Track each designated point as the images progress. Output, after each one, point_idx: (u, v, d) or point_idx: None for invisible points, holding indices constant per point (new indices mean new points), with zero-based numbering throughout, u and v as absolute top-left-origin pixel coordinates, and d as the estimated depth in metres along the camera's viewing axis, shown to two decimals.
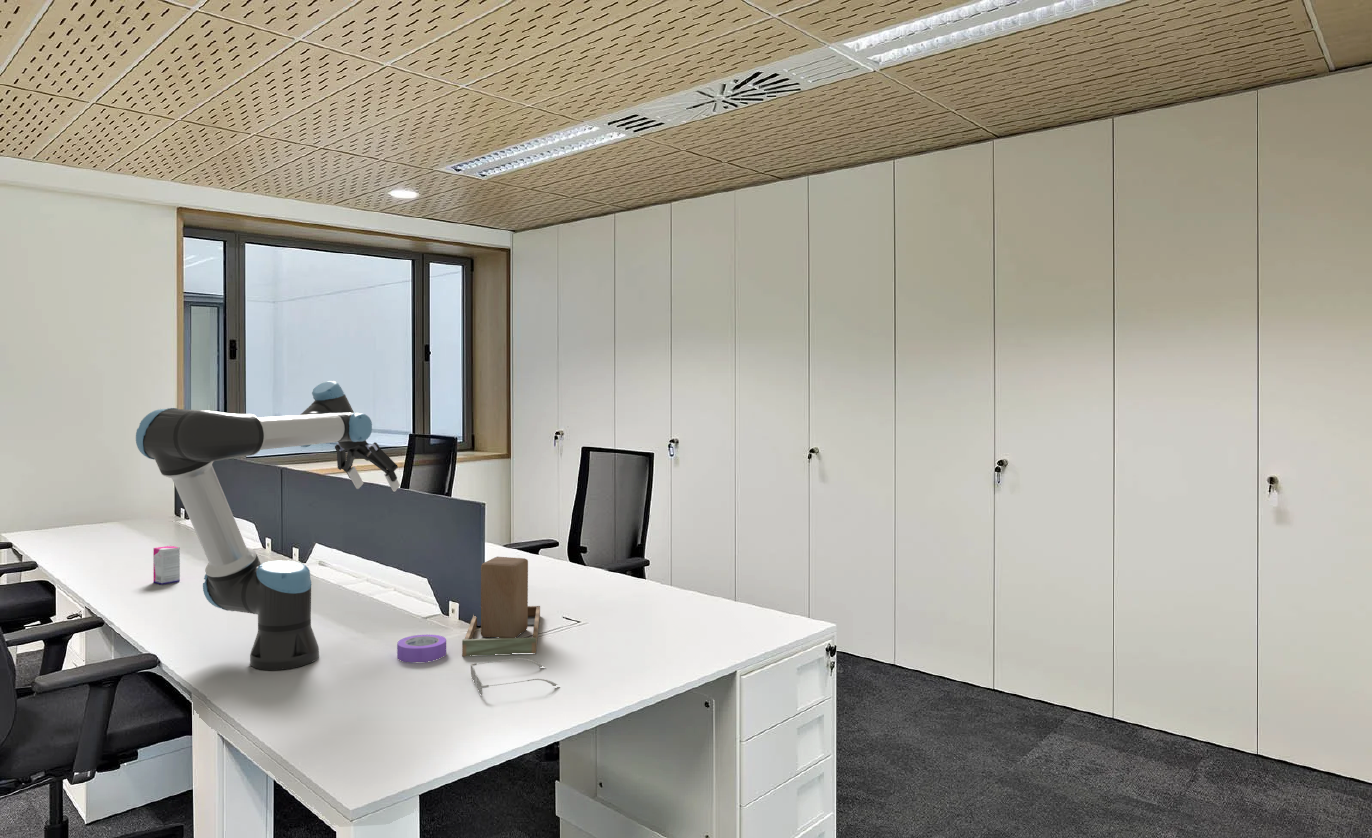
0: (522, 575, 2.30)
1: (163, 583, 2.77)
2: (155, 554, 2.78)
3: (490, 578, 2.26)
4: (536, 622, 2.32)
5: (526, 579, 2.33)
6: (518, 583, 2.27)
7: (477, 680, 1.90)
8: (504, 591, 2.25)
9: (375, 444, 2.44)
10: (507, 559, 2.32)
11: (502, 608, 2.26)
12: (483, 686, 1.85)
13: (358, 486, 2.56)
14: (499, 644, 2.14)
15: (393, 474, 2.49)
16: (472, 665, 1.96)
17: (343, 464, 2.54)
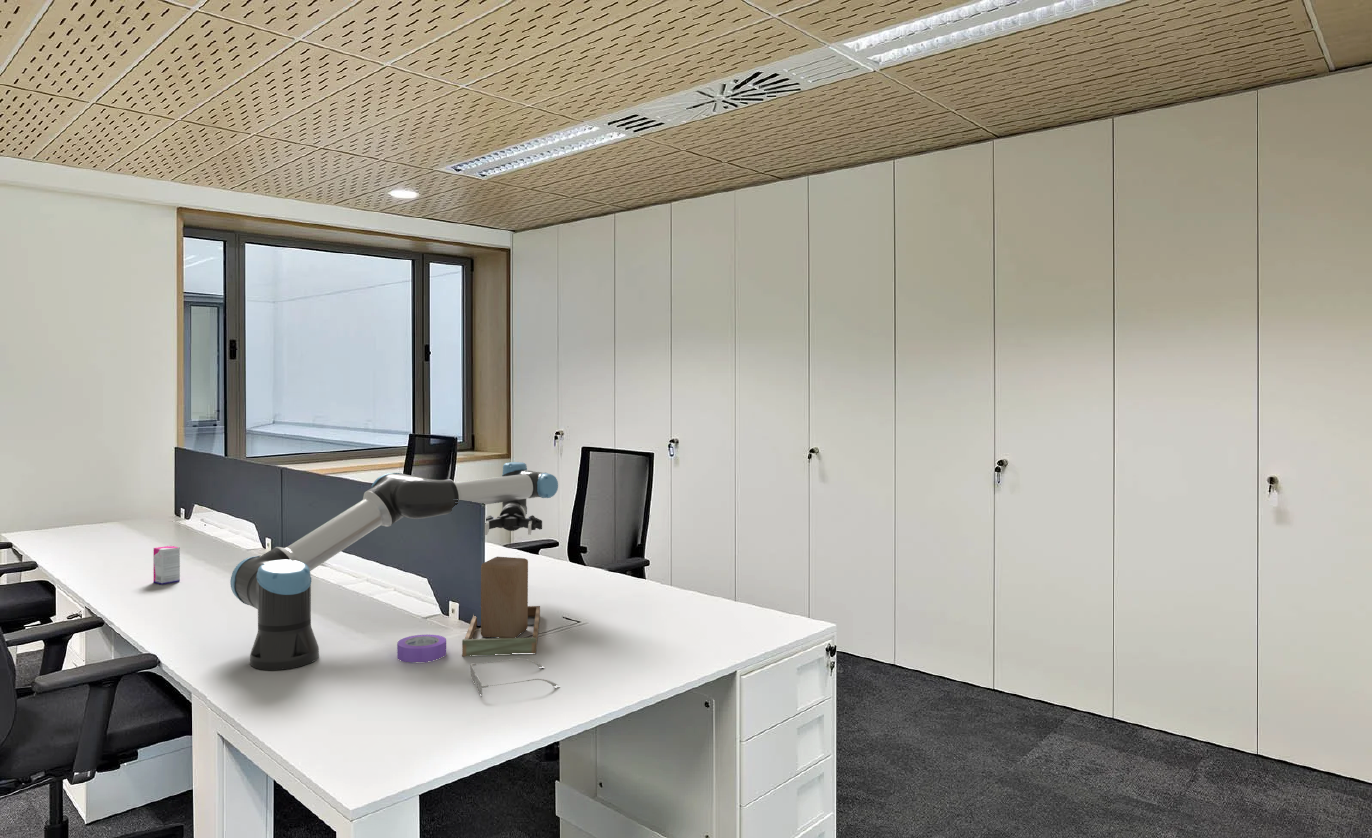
0: (522, 575, 2.30)
1: (163, 583, 2.77)
2: (155, 554, 2.78)
3: (490, 578, 2.26)
4: (536, 622, 2.32)
5: (526, 579, 2.33)
6: (518, 583, 2.27)
7: (477, 680, 1.90)
8: (504, 591, 2.25)
9: None
10: (507, 559, 2.32)
11: (502, 608, 2.26)
12: (483, 686, 1.85)
13: (487, 526, 2.41)
14: (499, 644, 2.14)
15: None
16: (472, 665, 1.96)
17: None
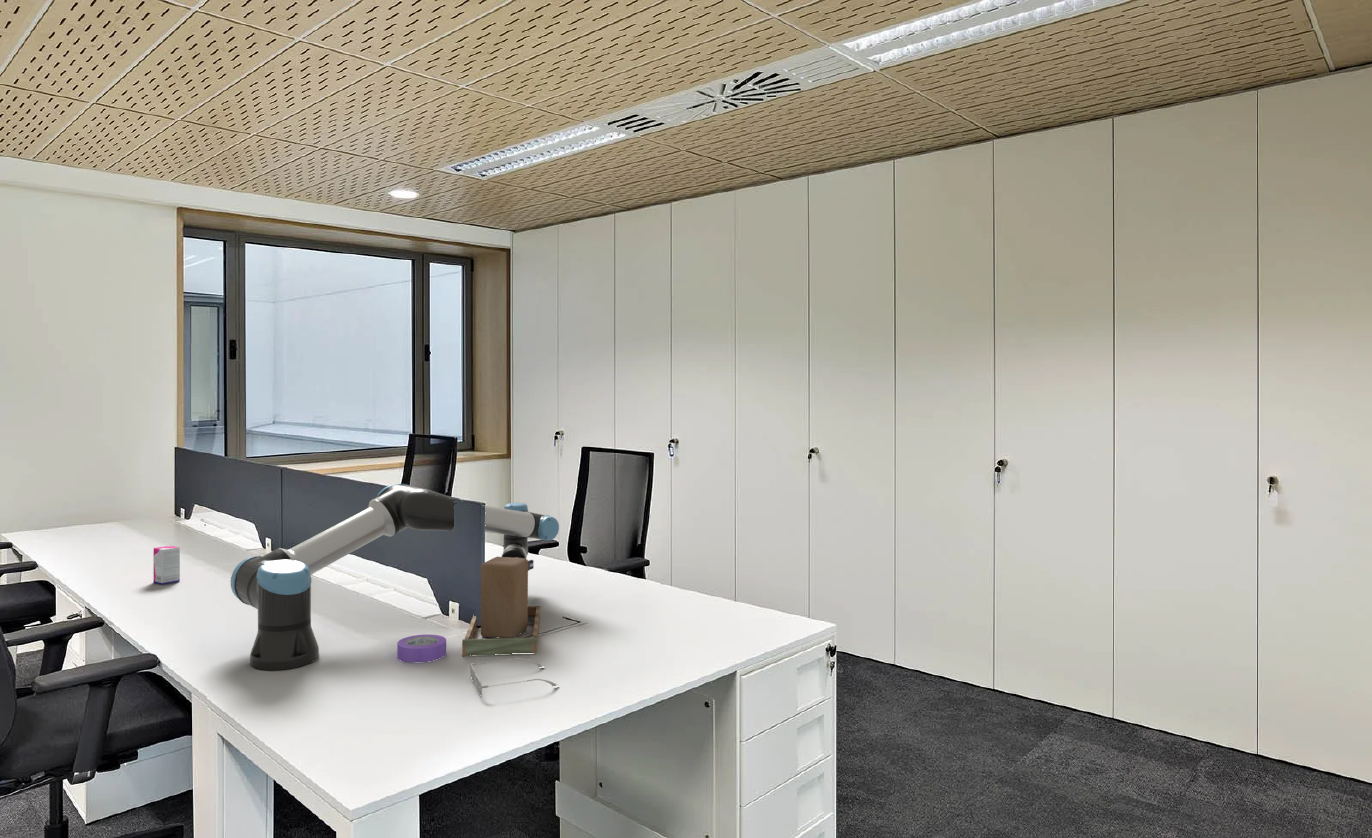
0: (522, 575, 2.30)
1: (163, 583, 2.77)
2: (155, 554, 2.78)
3: (490, 578, 2.26)
4: (536, 622, 2.32)
5: (526, 579, 2.33)
6: (518, 583, 2.27)
7: (477, 680, 1.90)
8: (504, 591, 2.25)
9: (533, 566, 2.57)
10: (507, 559, 2.32)
11: (502, 608, 2.26)
12: (483, 686, 1.85)
13: None
14: (499, 644, 2.14)
15: None
16: (472, 665, 1.96)
17: None
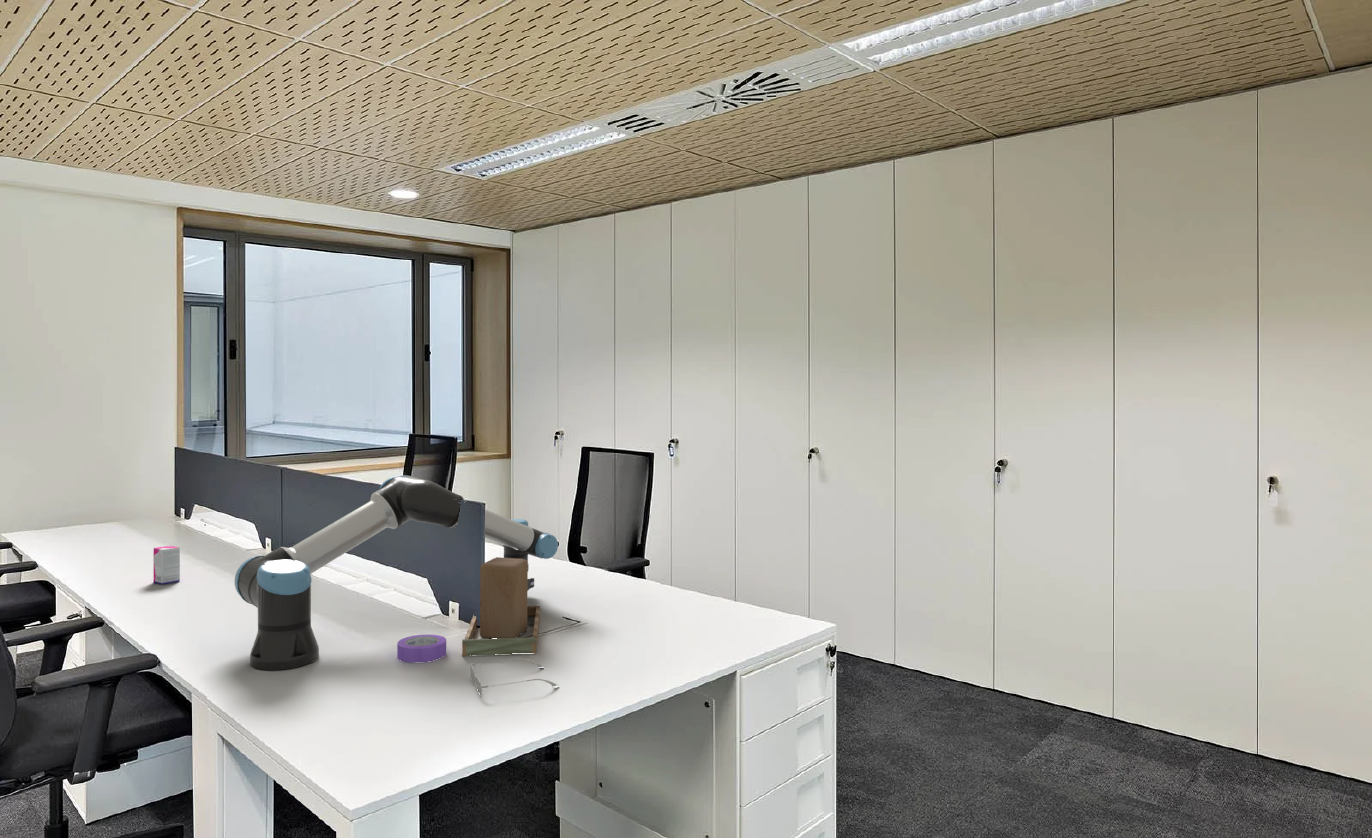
0: (522, 576, 2.29)
1: (163, 583, 2.77)
2: (155, 554, 2.78)
3: (489, 579, 2.25)
4: (536, 622, 2.32)
5: (526, 580, 2.32)
6: (517, 584, 2.26)
7: None
8: (503, 592, 2.24)
9: None
10: (507, 560, 2.31)
11: (502, 609, 2.25)
12: (483, 686, 1.85)
13: None
14: (499, 644, 2.14)
15: None
16: (471, 665, 1.96)
17: None
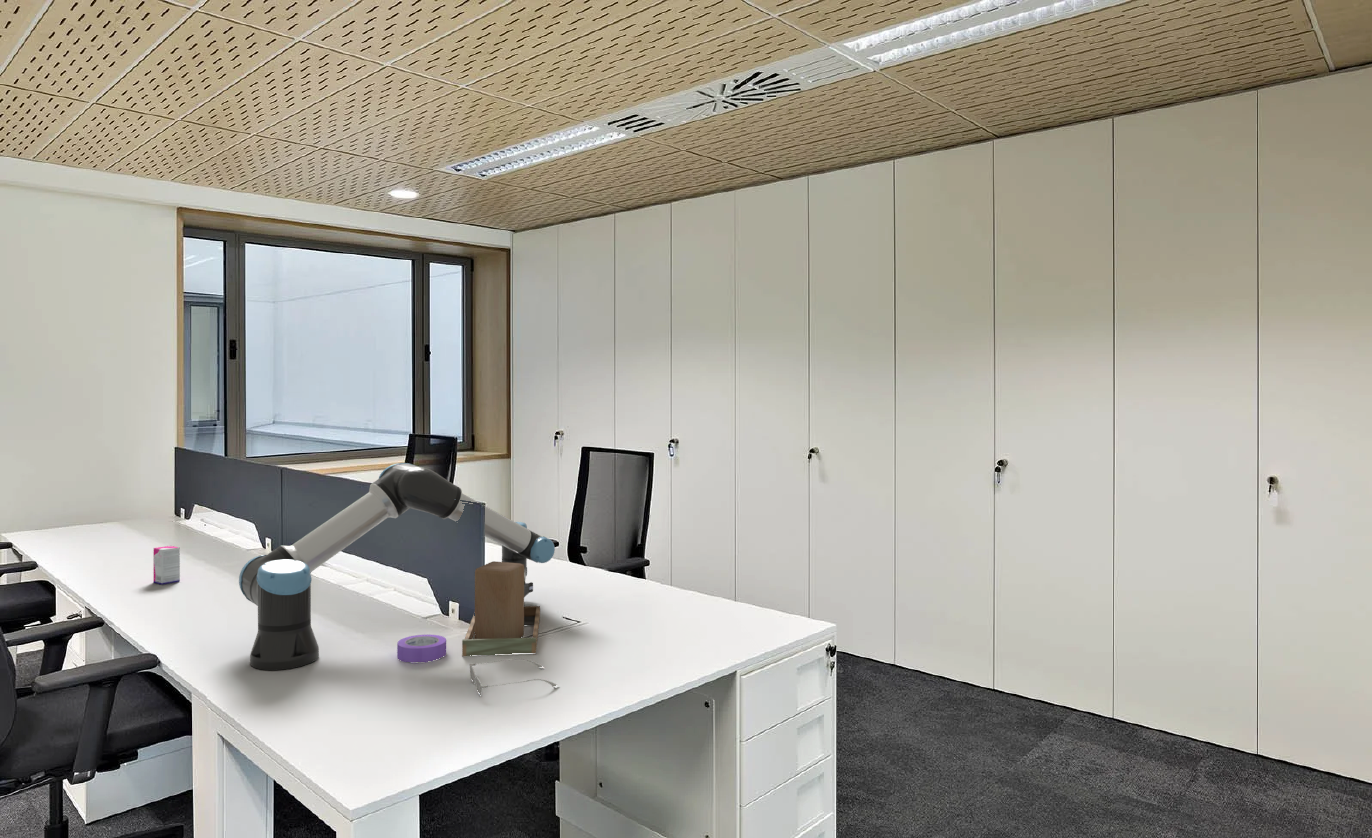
0: (518, 581, 2.24)
1: (163, 583, 2.77)
2: (155, 554, 2.78)
3: (484, 583, 2.20)
4: (536, 622, 2.32)
5: (522, 585, 2.26)
6: (513, 589, 2.21)
7: (476, 680, 1.90)
8: (498, 597, 2.19)
9: (532, 589, 2.47)
10: (502, 564, 2.26)
11: (496, 615, 2.20)
12: (483, 686, 1.85)
13: None
14: (499, 644, 2.14)
15: None
16: (471, 665, 1.96)
17: None
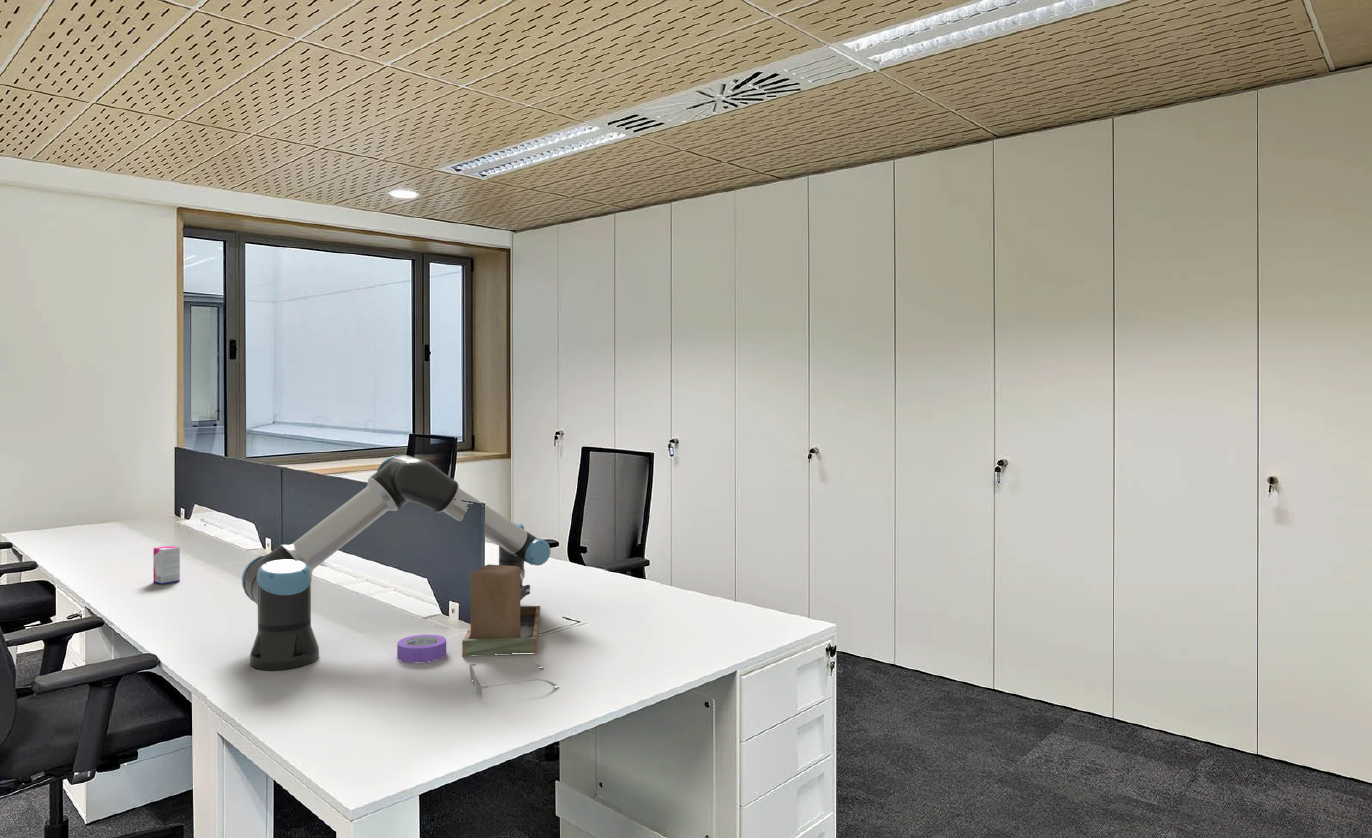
0: (514, 584, 2.20)
1: (163, 583, 2.77)
2: (155, 554, 2.78)
3: (480, 587, 2.16)
4: (536, 622, 2.32)
5: (518, 588, 2.23)
6: (510, 593, 2.17)
7: (476, 680, 1.90)
8: (495, 601, 2.16)
9: (529, 591, 2.43)
10: (498, 567, 2.22)
11: (493, 619, 2.16)
12: (483, 686, 1.85)
13: None
14: (499, 644, 2.14)
15: None
16: (471, 665, 1.96)
17: None
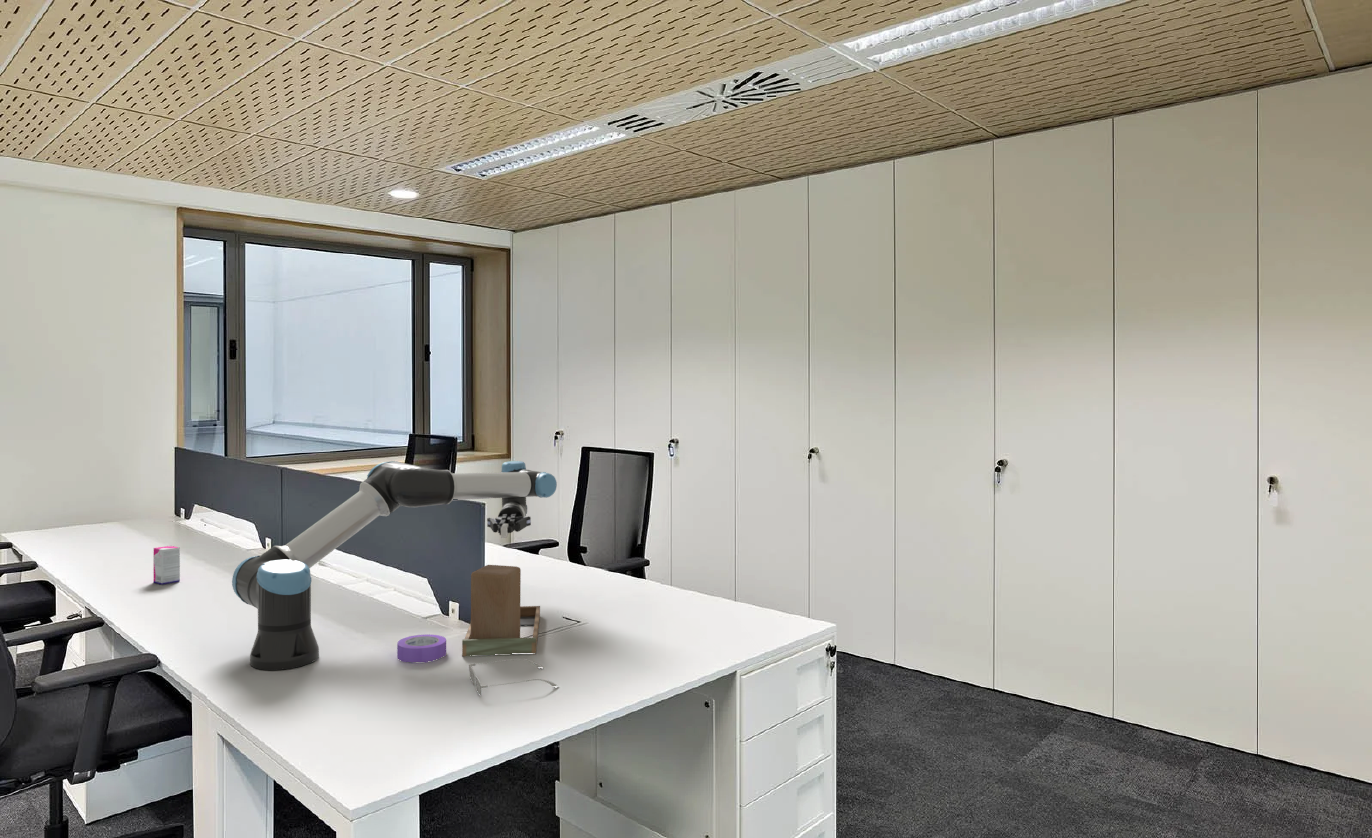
0: (514, 585, 2.20)
1: (163, 583, 2.77)
2: (155, 554, 2.78)
3: (481, 587, 2.16)
4: (536, 622, 2.32)
5: (518, 588, 2.23)
6: (510, 593, 2.17)
7: (476, 680, 1.90)
8: (495, 601, 2.16)
9: (530, 523, 2.54)
10: (499, 567, 2.22)
11: (493, 619, 2.16)
12: (482, 686, 1.85)
13: None
14: (499, 644, 2.14)
15: (512, 528, 2.43)
16: (471, 665, 1.96)
17: None
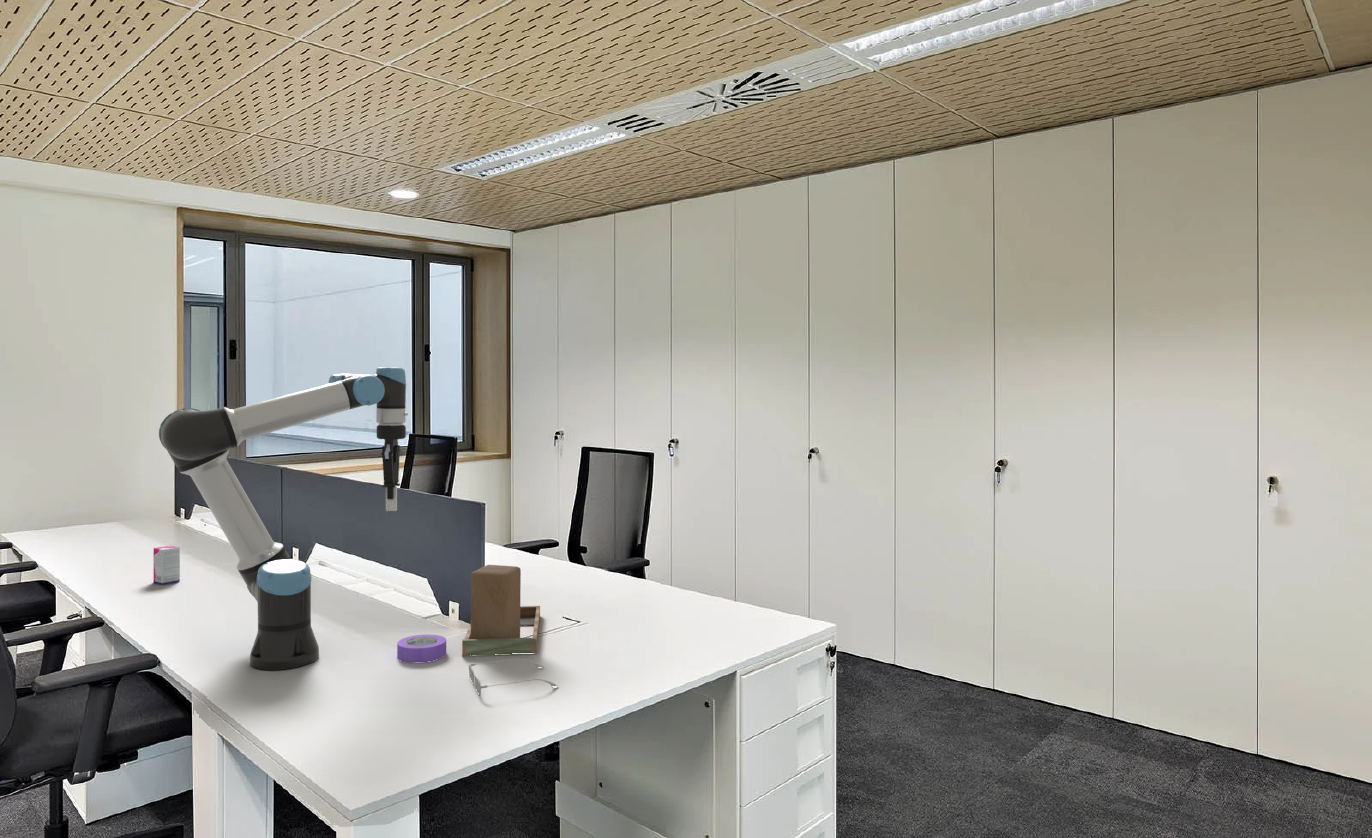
0: (514, 585, 2.20)
1: (163, 583, 2.77)
2: (155, 554, 2.78)
3: (481, 587, 2.16)
4: (536, 622, 2.32)
5: (518, 588, 2.23)
6: (510, 593, 2.17)
7: (476, 680, 1.90)
8: (495, 601, 2.16)
9: (388, 454, 2.26)
10: (499, 567, 2.22)
11: (493, 619, 2.16)
12: (482, 686, 1.85)
13: None
14: (499, 644, 2.14)
15: (390, 491, 2.31)
16: (470, 665, 1.96)
17: None
